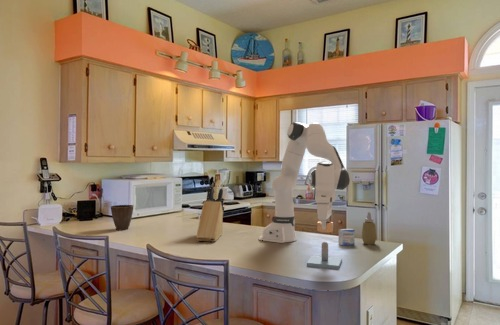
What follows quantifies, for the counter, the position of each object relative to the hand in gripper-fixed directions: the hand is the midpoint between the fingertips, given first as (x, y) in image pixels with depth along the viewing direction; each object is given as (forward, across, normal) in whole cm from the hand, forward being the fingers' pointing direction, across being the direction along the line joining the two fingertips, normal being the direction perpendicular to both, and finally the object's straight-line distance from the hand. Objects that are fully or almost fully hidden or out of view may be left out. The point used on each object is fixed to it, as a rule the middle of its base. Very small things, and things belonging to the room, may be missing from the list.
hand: (325, 227), depth 171 cm
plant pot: (+16, -39, -143) cm, 149 cm away
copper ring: (+2, 0, 0) cm, 2 cm away
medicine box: (+17, -44, +6) cm, 47 cm away
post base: (+16, 0, 0) cm, 17 cm away
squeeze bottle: (+17, -50, +18) cm, 56 cm away
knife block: (+17, -38, -75) cm, 85 cm away
